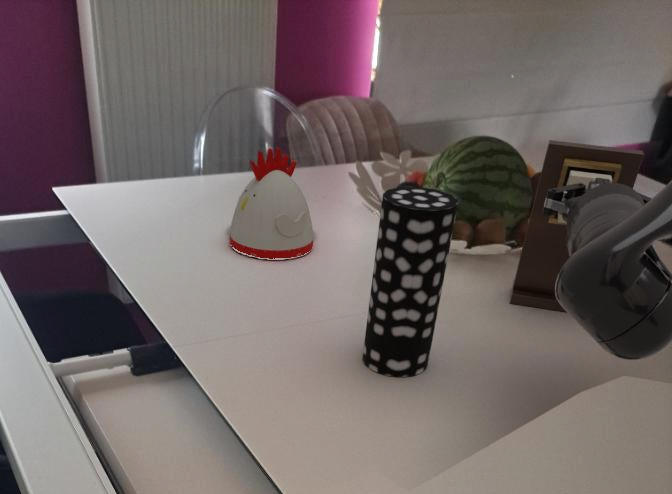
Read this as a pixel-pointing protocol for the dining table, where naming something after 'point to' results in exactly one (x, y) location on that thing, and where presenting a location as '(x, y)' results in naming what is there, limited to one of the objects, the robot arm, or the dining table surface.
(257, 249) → the kitchen timer
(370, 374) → the dining table surface
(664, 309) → the robot arm
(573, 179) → the switch button
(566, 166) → the wall panel
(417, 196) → the spotted tube
